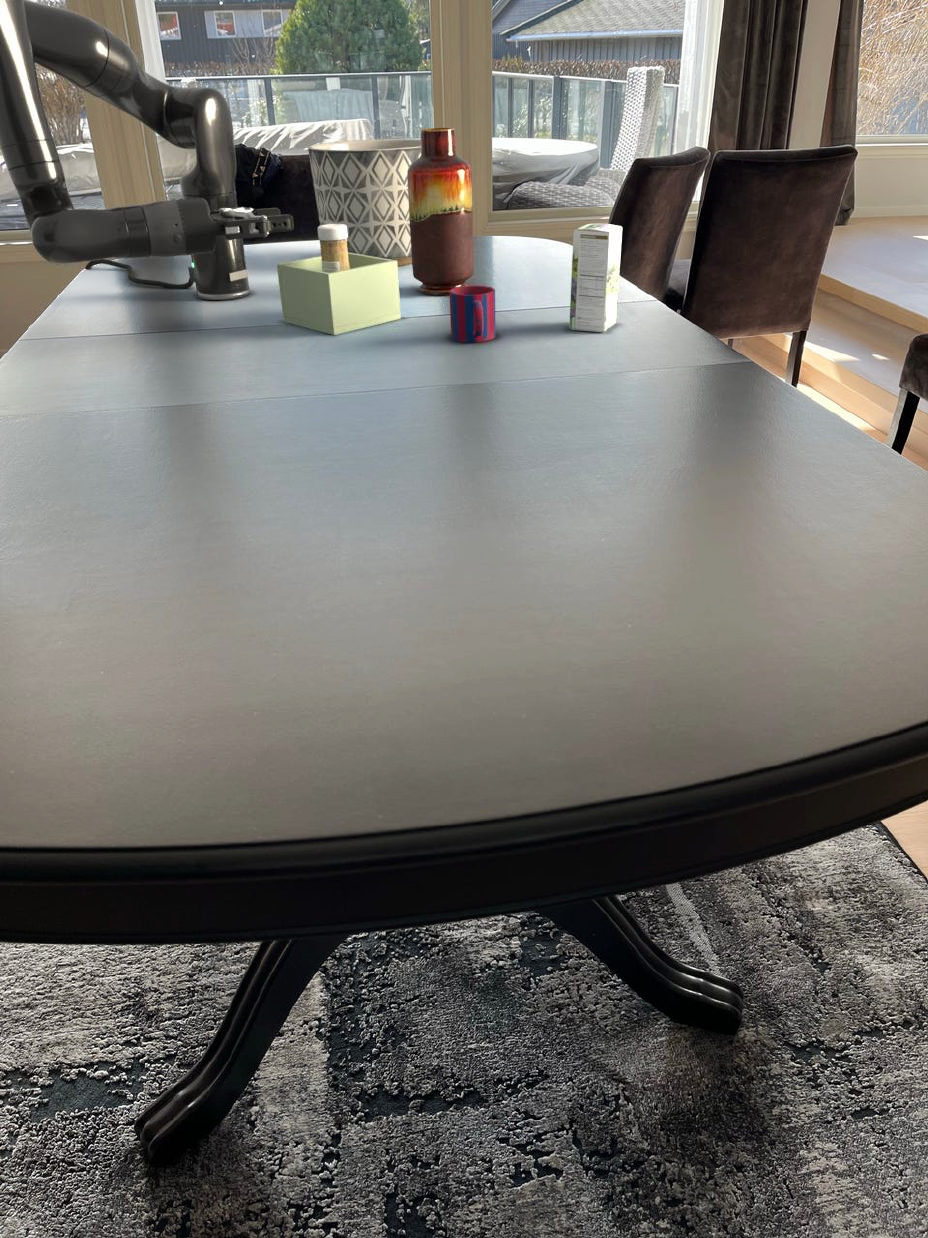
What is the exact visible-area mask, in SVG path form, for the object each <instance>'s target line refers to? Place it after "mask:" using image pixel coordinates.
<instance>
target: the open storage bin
mask: <svg viewBox="0 0 928 1238" xmlns="http://www.w3.org/2000/svg"><path fill="white" fill-rule="evenodd" d="M321 260H322V258H321V255H317V256H313V257H308V258H307V257H306V258H302V259H297V260H291V261H286V262H280V263H276V271H277V279H278V287H279V295H280V302H281V310H282V318H283V319H282V320H283V323H286V324H291V325H295V326H299V327H303V328H307V329H310V330H313V331H317V332H320V333H325V334H329V335H332V336H336V335H341V334H345V333H348V332H349V333H350V332H353V331H357V330H361V329H364V328H370V327H374V326H377V325H380V324H386V323H389V322H393V321H397V320H401V319H402V317H401V316H402V315H401V300H400V285H399V283H400V282H399V268H398V266H397V261H396V260H390V259H384V258H379V257H373V256H367V255H361V254H355V253H350V252H348V261H349V267H350V269H347V270H342V271H337V272H332V273H327V272H322V262H321Z"/></svg>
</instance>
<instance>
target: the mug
mask: <svg viewBox="0 0 928 1238" xmlns="http://www.w3.org/2000/svg"><path fill="white" fill-rule="evenodd" d="M449 294H450V295H449V315H450V316H449V318H450V321H449V322H450V338H451V340H453V341H456V342H459V343H471V344H472V343H481V342H482V343H483V342H488V341H491V340H493V339H495V338H496V335H497V334H496V289H495V288H494V287H491V286H487V285H468V286H462V287H456V288H453V289H451V290H450V291H449Z"/></svg>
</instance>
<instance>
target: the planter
mask: <svg viewBox="0 0 928 1238" xmlns="http://www.w3.org/2000/svg"><path fill="white" fill-rule="evenodd" d="M307 150H308V158H309V163H310V164H309V165H310V169H311V176H312V183H313V188H314V194H315V201H316V208H317V213H318V220H319V226H321V225H327V224H343V225H346V227H347V234H348V237H347V238H346V239H347V250H348V252H350V253H355V254H361V255H367V256H373V257H379V258H384V259H390V260H396V261H397V266H404V265H408V264H412V254H411V237H410V219H409V201H408V181H407V170H408V168H409V166H410V165H411V163H412V162H413V161H415V160H416V159H418V158H419V157H420V156H421V138H419V139H418V138H417V139H416V138H379V139H358V140H356V139H355V140H343V141H342V140H341V141H331V142H322V143H317V144H312V145H309V146H308V147H307Z"/></svg>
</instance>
